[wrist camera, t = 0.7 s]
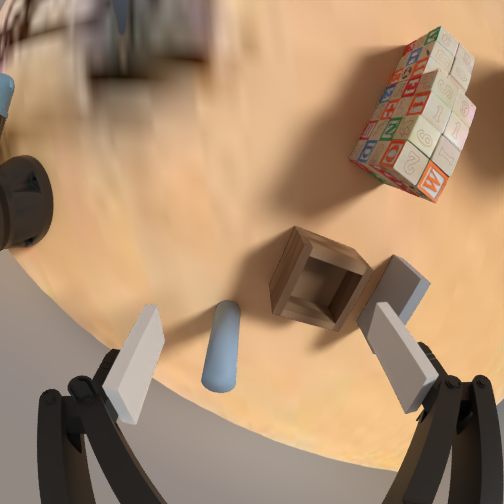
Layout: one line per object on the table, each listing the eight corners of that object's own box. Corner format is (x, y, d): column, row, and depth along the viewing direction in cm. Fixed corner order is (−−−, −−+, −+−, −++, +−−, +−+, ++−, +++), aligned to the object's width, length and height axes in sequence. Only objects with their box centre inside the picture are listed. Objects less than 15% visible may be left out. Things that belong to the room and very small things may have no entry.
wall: (356, 321, 40) (373, 353, 33) (393, 254, 36) (421, 278, 29) (366, 323, 40) (383, 355, 33) (403, 258, 36) (430, 283, 29)
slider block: (269, 285, 38) (272, 313, 31) (295, 225, 35) (304, 244, 28) (326, 303, 39) (338, 331, 32) (354, 248, 36) (373, 270, 29)
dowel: (212, 316, 40) (198, 387, 27) (219, 297, 38) (205, 367, 25) (236, 323, 40) (229, 395, 27) (243, 304, 39) (240, 376, 26)
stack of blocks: (406, 43, 25) (455, 18, 13) (438, 70, 26) (492, 56, 14) (347, 160, 32) (392, 168, 20) (384, 185, 33) (437, 205, 21)
